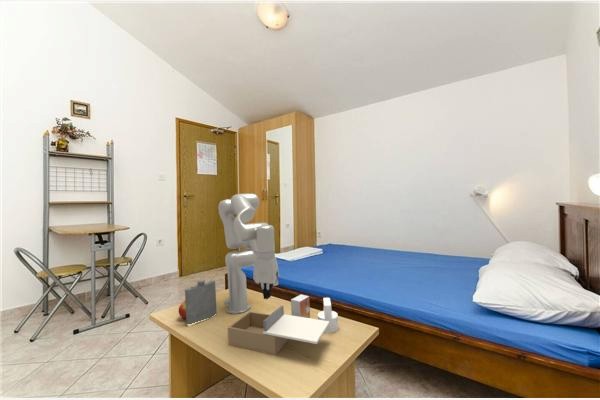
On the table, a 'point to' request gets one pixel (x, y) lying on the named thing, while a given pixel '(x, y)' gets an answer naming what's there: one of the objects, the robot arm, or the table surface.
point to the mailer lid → (294, 327)
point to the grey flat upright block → (200, 301)
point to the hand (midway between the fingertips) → (267, 297)
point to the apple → (182, 310)
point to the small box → (300, 306)
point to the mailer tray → (254, 334)
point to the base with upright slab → (329, 316)
